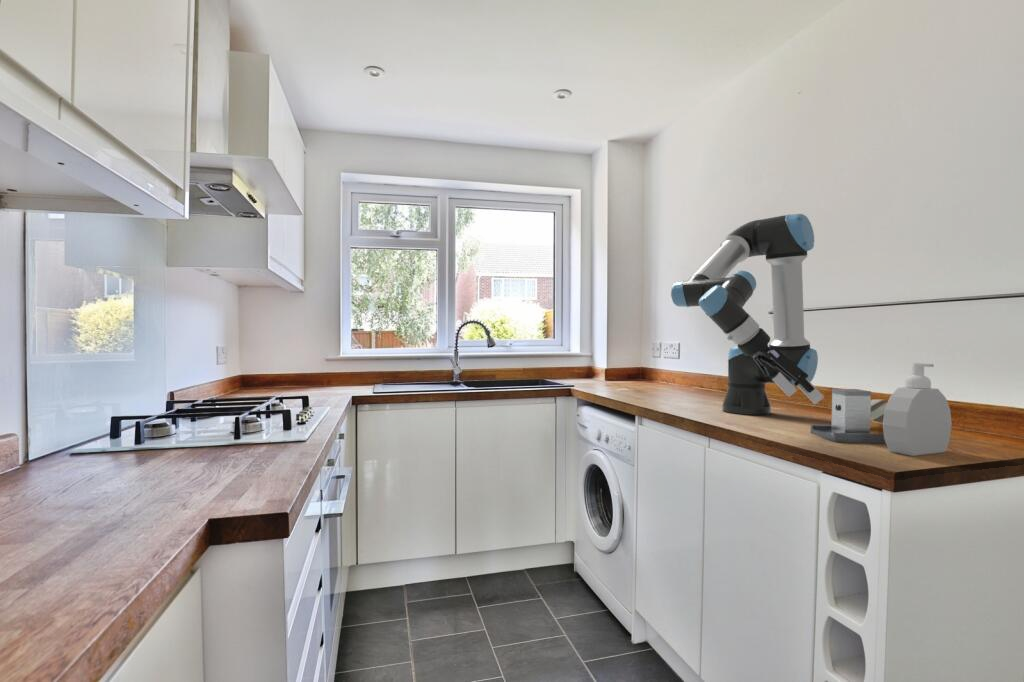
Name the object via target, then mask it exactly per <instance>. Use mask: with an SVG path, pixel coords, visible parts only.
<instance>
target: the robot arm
mask: <svg viewBox="0 0 1024 682" xmlns="http://www.w3.org/2000/svg"><path fill="white" fill-rule="evenodd" d="M814 246H815V234H814V229H813V226H812V223H811V221H810V219H809V217H808V216H806V215H805V214H803V213H793V214H785V215H779V216H774V217H768V218H762V219H757V220H752V221H749V222H747V223H745V224H743V225H741V226H739V227H737V228H735V230H733V231H731V232H730V233H728V235H726V236H725V237H724V239H722V240H721V243H720V244H719V248H718V249H717V250H716V251H715V252H714V253H713V254H712V255H711V256H710V257H709V258H708V259H707V260H706V261H705V262H704V264H702V266H700V267H699V268H698V269H697V271H696V272H695V273H693V274H692V276H691V277H690V278H689V279H688V280H681V281H677V282H675V283H673V285H672V287H671V292H670V296H671V301H672V303H673V304H674V305H675V306H676V307H682V308H685V307H686V308H689V307H700V309H702V311H703V312H704V313H705V315H706V316H707V317H709V318H710V319H711V320H712V321H713V322H714V323H715V324H716V325H717V327H719V329H721V331H722V332H723V333H724V334H725V335H726V336H727V338H726V339H727V340H728V341H732V342H733V343H734V344H735V345H737V346H734V347H733V346H732V347H731V348H729V351H728V357H727V363H728V364H727V370H728V371H727V373H728V374H727V390H726V394H725V396H724V399H723V402H722V407H721V408H722V411H723V412H726V413H731V414H740V415H752V416H754V415H755V416H759V415H761V416H762V415H763V416H764V415H770V414H771V413H772V412H771V410H772V408H771V404H770V401H769V398H768V395H767V392H766V383H767V384H776V385H777V386H778V388H779V389H780V390H781V391H782V392H783V393H784V394H785V395H786V397H788V398H790V397H791V396H792V395H794V394H795V393H796V392H797V391H798V389H796V387H797V388H799V390H800V391H801V392H802V393H803V394H804V395H805V396H806V398H808V399H809V400H810V401H811V402H812V403H813V405H817V404H819V402H820V401H821V400H822V399H824V398H825V397H824V395H823V394H822V393H821V392H820V391H819V390H818V388H816V386H815V385H813V383H811V382H812V381H813V379H814V377H815V375H816V372H817V369H818V363H819V362H818V361H819V357H818V352H817V350H816V349H814V348H811V342H810V341H809V340H808V339H806V338H805V319H804V317H805V316H804V315H805V314H804V290H803V289H804V288H803V287H804V286H803V262H804V261H805V260H806V259H807V258H808V251H811V250H813V248H814ZM758 256H765V261H766V262H767V263H768V264H769V265H770V266H771V267H770V268H771V270H770V271H771V288H772V289H771V291H772V292H771V293H772V317H773V318H772V320H773V321H772V322H773V339H772V341H771V336H769V334H768V333H767V332H766V331H765V330H764V329H763V328H761V327H760V324H759V323H758V322H757V320H755V319H754V318H753V317H752V316H751V315H750V314H749V313H748V312H747V311H746V310H745V309H744V308H743V307H744V306H745V304H746V303H747V302H748V301H749V299H750V298H752V296H753V294H754V291H755V290H756V288H757V280H756V278H755V276H754V275H753V274H751V273H750V272H749V271H746V270H737V271H734V272H733V273H732V274H730V273H731V272H732V270H733V269H734V268H735V267H736V266H737V265H738V263H739V264H740V263H742V262H744V261H745V260H746V259H748V258H751V257H758ZM729 274H730V275H729ZM728 275H729V276H728ZM727 276H728V277H727Z"/></svg>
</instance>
